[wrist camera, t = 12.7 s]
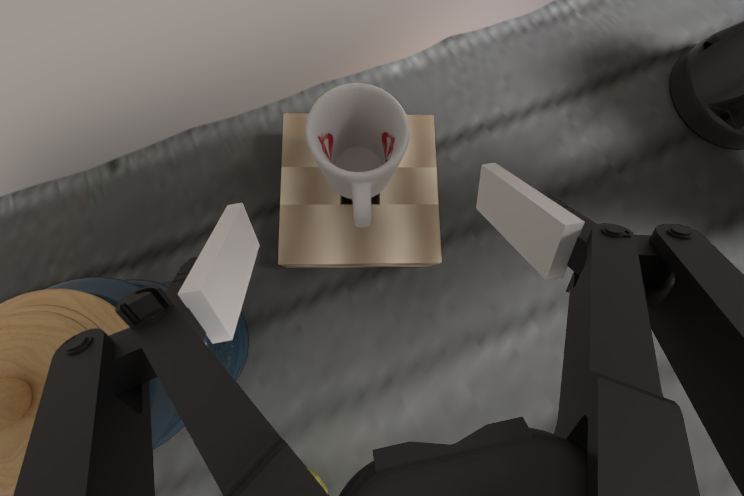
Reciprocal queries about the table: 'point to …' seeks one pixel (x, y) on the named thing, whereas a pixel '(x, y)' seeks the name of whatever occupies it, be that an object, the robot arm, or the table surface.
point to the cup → (357, 142)
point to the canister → (49, 331)
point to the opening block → (335, 213)
